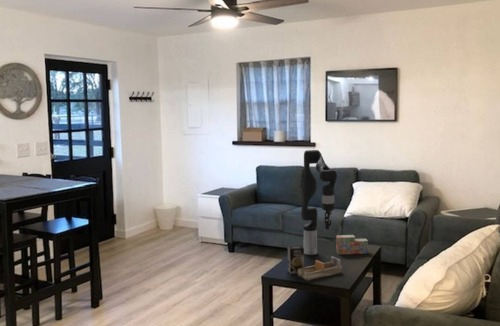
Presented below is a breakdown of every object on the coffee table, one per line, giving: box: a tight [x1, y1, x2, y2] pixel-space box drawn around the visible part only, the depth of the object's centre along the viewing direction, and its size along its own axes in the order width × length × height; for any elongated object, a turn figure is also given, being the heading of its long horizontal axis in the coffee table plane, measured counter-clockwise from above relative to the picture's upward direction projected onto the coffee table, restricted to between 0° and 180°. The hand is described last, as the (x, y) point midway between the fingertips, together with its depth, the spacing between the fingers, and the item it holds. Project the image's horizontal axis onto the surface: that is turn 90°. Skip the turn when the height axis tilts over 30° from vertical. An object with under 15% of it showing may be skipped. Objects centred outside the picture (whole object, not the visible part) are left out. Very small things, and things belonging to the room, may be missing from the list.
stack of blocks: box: [335, 234, 369, 255], centre depth 332 cm, size 21×6×12 cm, turn 90°
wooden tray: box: [297, 256, 343, 282], centre depth 291 cm, size 10×26×8 cm, turn 119°
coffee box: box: [287, 245, 305, 275], centre depth 296 cm, size 9×6×16 cm
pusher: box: [314, 259, 325, 271], centre depth 291 cm, size 7×1×7 cm, turn 29°
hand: (328, 227), depth 292 cm, fingers open, 8 cm apart
